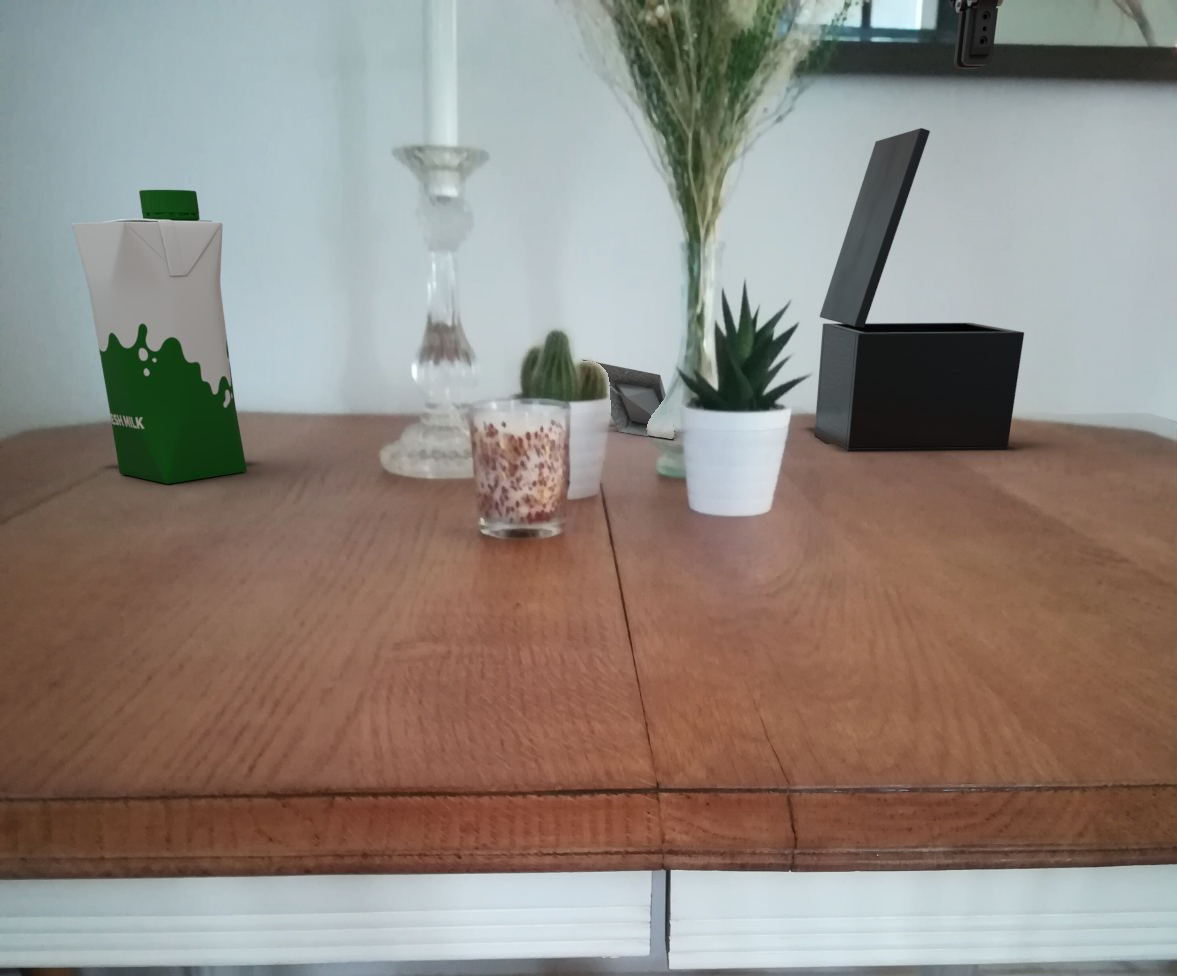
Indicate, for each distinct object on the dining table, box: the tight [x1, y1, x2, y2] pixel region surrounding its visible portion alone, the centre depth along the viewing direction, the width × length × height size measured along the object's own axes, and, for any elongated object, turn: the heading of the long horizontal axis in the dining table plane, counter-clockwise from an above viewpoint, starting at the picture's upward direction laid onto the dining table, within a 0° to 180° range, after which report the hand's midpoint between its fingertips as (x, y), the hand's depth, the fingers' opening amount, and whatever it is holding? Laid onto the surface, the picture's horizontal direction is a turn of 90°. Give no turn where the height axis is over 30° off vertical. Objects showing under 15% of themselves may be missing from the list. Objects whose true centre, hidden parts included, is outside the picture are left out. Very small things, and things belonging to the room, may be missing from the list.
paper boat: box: [582, 358, 667, 437], centre depth 109 cm, size 12×6×9 cm
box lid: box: [819, 127, 931, 328], centre depth 96 cm, size 14×13×1 cm
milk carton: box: [71, 189, 248, 485], centre depth 88 cm, size 9×9×20 cm
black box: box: [813, 322, 1025, 453], centre depth 101 cm, size 14×13×10 cm
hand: (971, 65), depth 91 cm, fingers closed
